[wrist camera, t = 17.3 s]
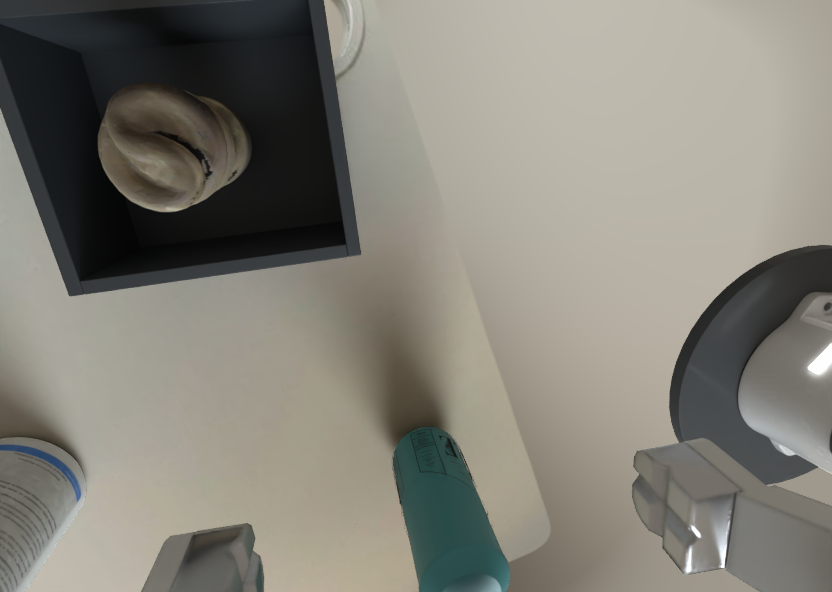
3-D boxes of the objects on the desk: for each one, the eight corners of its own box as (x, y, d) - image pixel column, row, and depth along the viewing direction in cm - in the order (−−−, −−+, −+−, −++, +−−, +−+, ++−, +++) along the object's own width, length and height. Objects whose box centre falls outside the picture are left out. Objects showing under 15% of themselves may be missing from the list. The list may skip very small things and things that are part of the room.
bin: (323, 23, 33) (320, -24, 24) (353, 227, 38) (361, 255, 29) (71, 43, 31) (-40, 1, 22) (137, 256, 36) (68, 296, 27)
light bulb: (258, 193, 35) (209, 228, 21) (179, 176, 34) (71, 201, 20) (269, 114, 34) (225, 95, 20) (187, 94, 32) (76, 57, 18)
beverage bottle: (377, 461, 45) (410, 687, 27) (408, 404, 44) (465, 600, 25) (436, 480, 47) (505, 703, 28) (467, 426, 46) (561, 622, 27)
